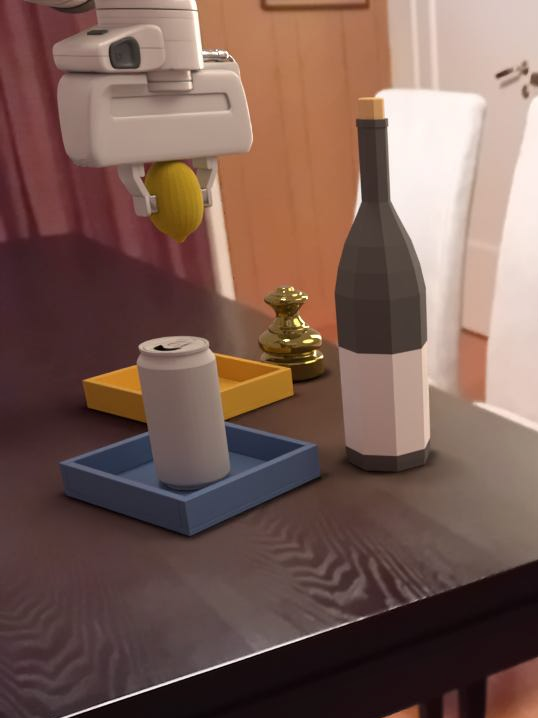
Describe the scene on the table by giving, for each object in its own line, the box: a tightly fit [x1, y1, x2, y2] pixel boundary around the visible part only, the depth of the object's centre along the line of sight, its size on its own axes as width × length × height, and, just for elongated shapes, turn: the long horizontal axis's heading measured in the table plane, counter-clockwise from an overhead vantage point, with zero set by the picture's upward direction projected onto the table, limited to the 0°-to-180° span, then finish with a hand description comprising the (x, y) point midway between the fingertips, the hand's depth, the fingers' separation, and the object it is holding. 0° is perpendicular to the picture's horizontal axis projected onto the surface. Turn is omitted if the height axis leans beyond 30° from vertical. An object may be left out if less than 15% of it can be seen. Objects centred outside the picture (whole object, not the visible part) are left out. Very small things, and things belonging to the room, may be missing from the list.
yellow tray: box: [81, 352, 294, 424], centre depth 110 cm, size 16×16×3 cm
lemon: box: [143, 160, 205, 244], centre depth 98 cm, size 6×6×8 cm
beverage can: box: [136, 335, 230, 490], centre depth 86 cm, size 6×6×12 cm
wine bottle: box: [334, 97, 431, 473], centre depth 88 cm, size 8×8×30 cm
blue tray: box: [58, 421, 321, 537], centre depth 89 cm, size 16×16×3 cm
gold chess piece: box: [257, 284, 325, 382], centre depth 117 cm, size 7×7×10 cm
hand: (174, 211), depth 99 cm, fingers closed on lemon, 5 cm apart
